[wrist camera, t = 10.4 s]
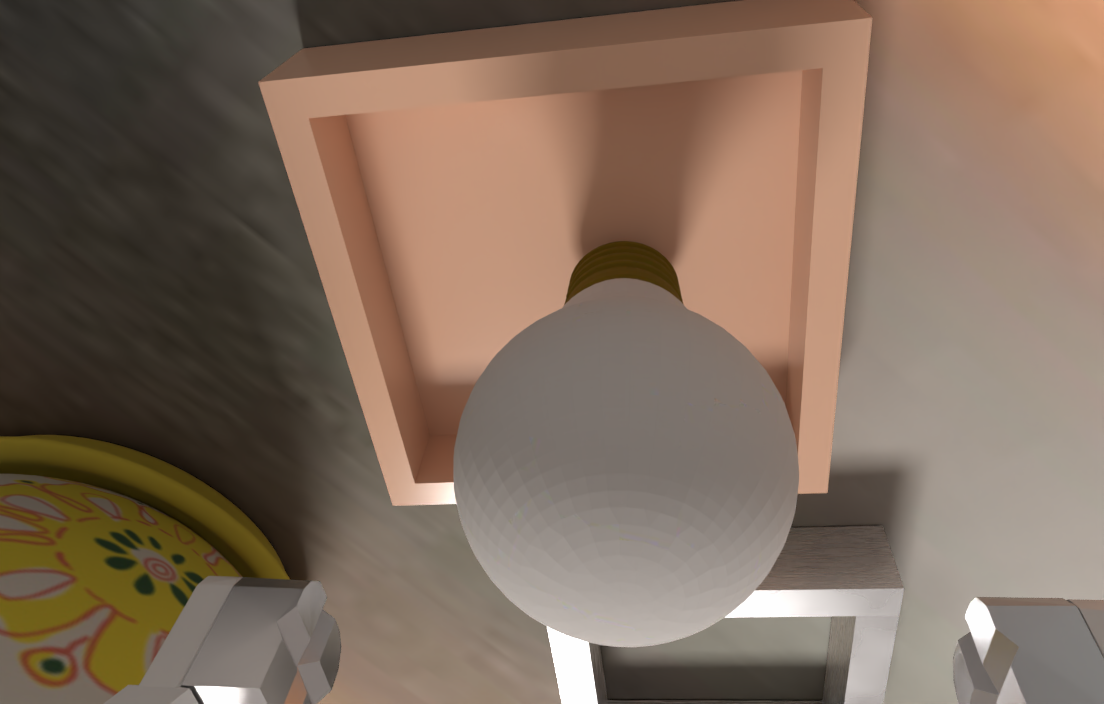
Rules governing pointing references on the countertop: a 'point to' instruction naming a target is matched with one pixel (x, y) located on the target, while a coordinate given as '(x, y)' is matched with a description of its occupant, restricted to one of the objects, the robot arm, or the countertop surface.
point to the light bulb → (625, 461)
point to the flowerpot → (104, 563)
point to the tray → (577, 196)
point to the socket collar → (795, 591)
